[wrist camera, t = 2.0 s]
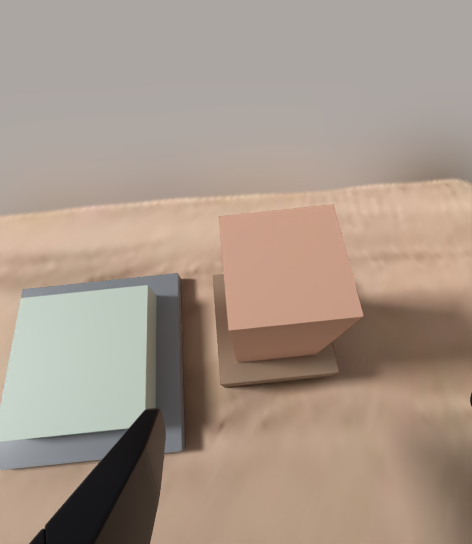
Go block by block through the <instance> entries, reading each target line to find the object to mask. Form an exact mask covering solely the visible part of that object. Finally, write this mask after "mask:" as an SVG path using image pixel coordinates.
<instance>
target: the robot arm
mask: <svg viewBox="0 0 472 544" xmlns="http://www.w3.org/2000/svg"><path fill="white" fill-rule="evenodd" d="M470 402H471V406H472V393H471V397H470ZM165 441H166V428H165V424H164V420H163V416H162V411H161V409H160V408H148V409H145V410H144V411H143V412H142V413H141V415H140V416H139V417H138V418H137V419H136V420H135V422H134V423H133V424H132V425H131V426H130V427H129V429H128V430H127V431H126V432H125V433H124V434H123V435H122V437H121V438H120V439H119V440H118V441H117V442H116V444H115V445H114V446H113V447H112V448H111V449H110V451H109V452H108V453H107V454H106V455H105V456H104V458H103V459H102V460H101V461H100V462H99V463H98V465H97V466H96V467H95V468H94V469H93V470H92V471H91V473H90V474H89V475H88V476H87V477H86V478H85V480H84V481H83V482H82V483H81V484H80V485H79V487H78V488H77V489H76V490H75V491H74V492H73V494H72V495H71V496H70V497H69V498H68V499H67V501H66V502H65V503H64V504H63V505H62V506H61V508H60V509H59V510H58V511H57V512H56V513H55V514H54V516H53V517H52V518H51V519H50V520H49V521H48V523H47V524H46V525H45V529H41V531H40V532H39V533H38V534H37V535H36V536H35V538H34V539H33V540H32V541H31V542H30V543H29V544H150V541H151V536H152V531H153V527H154V522H155V517H156V512H157V507H158V502H159V496H160V489H161V480H162V470H163V460H164V451H165Z"/></svg>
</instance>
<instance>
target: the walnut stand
mask: <svg viewBox="0 0 472 544" xmlns="http://www.w3.org/2000/svg"><path fill="white" fill-rule="evenodd" d="M213 286H214V301H215V315H216V329H217V343H218V357H219V371H220V384H221V385H222V386H223V387H234V386H244V385H253V384H263V383H273V382H282V381H292V380H301V379H311V378H321V377H327V376H330V375H333V374H335V373H338V372H339V371H338V366H337V361H336V357H335V352H334V348H333V343H332V342H331V343H330V344H328V345H327V346H326V347H325V348H323V349H322V350H321V351H320V352H318V353H317V354H316V355H306V356H297V357H287V358H277V359H268V360H258V361H249V362H239V363H238V362H237V358H236V355H235V351H234V348H233V344H232V341H231V337H230V334H229V330H228V318H227V307H226V295H225V283H224V274H221V275H213Z"/></svg>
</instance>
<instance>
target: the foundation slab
mask: <svg viewBox="0 0 472 544" xmlns="http://www.w3.org/2000/svg"><path fill="white" fill-rule="evenodd" d="M156 298H157V295H156V294H155V293H154V292H153V291H152V289H151V288H150V287H149V286H148V285H143V286H133V287H123V288H114V289H104V290H95V291H85V292H75V293H66V294H56V295H47V296H37V297H27V298H21V300H20V306H19V311H18V316H17V321H16V326H15V332H14V337H13V342H12V347H11V353H10V358H9V363H8V368H7V373H6V379H5V384H4V389H3V394H2V399H1V405H0V442H1V441H11V440H21V439H30V438H40V437H49V436H59V435H69V434H78V433H88V432H97V431H107V430H117V429H126V428H129V427H130V426H131V425H132V424H133V423H134V422H135V420H136V419H137V418H138V417H139V416H140V415H141V413H142V412H143V411H144V410H145V409H148V408H156Z"/></svg>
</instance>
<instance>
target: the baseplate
mask: <svg viewBox="0 0 472 544" xmlns="http://www.w3.org/2000/svg"><path fill="white" fill-rule="evenodd" d="M143 285H148V286H149V287H150V288H151V289H152V291H153V292H154V293H155V294H156V295H157V298H156V408H160V409H161V411H162V416H163V420H164V424H165V428H166V441H165V451H164V453H170V452H179V451H183V450H184V449H185V425H184V386H183V347H182V309H181V278H180V276H179V274H178V273H175V274H165V275H156V276H146V277H137V278H127V279H117V280H108V281H98V282H89V283H79V284H69V285H60V286H50V287H41V288H31V289H23V291H22V296H21V298H27V297H37V296H47V295H56V294H66V293H75V292H85V291H95V290H104V289H114V288H123V287H133V286H143ZM128 429H129V428H126V429H117V430H107V431H97V432H88V433H78V434H69V435H59V436H49V437H40V438H30V439H21V440H11V441H1V442H0V470H6V469H16V468H25V467H35V466H45V465H54V464H64V463H74V462H83V461H93V460H102V459H103V458H104V456H105V455H106V454H107V453H108V452H109V451H110V449H111V448H112V447H113V446H114V445H115V444H116V442H117V441H118V440H119V439H120V438H121V437H122V435H123V434H124V433H125V432H126V431H127V430H128Z"/></svg>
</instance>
